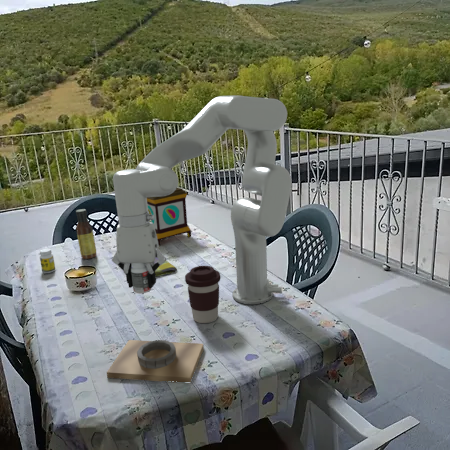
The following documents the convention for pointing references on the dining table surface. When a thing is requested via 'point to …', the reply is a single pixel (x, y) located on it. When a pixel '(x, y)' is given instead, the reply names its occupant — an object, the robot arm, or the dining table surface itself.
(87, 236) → the sauce bottle
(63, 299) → the dining table surface
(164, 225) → the decorative lantern
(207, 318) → the coffee cup
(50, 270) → the supplement bottle
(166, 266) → the dish towel
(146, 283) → the pill bottle
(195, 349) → the ring jig
